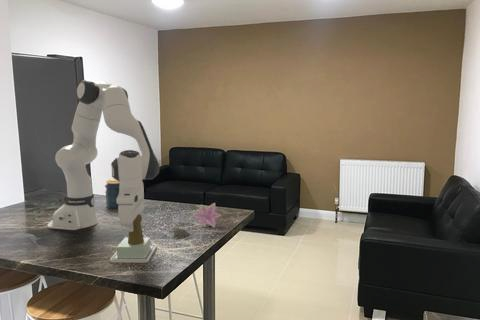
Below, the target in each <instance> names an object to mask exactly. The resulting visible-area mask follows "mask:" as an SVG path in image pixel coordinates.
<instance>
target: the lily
mask: <svg viewBox="0 0 480 320" xmlns="http://www.w3.org/2000/svg"><path fill="white" fill-rule="evenodd" d="M215 211H216V202H213V203H211V204H210V205H209V206H207V207H206V206H205V205H203V204H200V211H199V212H196V213H194V214H192V217H194V218H196V219H199V220H201V221H200V228H201V227H203V226H205V225H206V224H208V225H209V226H210V227H212V228H216V219H217V218H219V217H221V216H222V215H221V214H220V213H218V212H215Z"/></svg>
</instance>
